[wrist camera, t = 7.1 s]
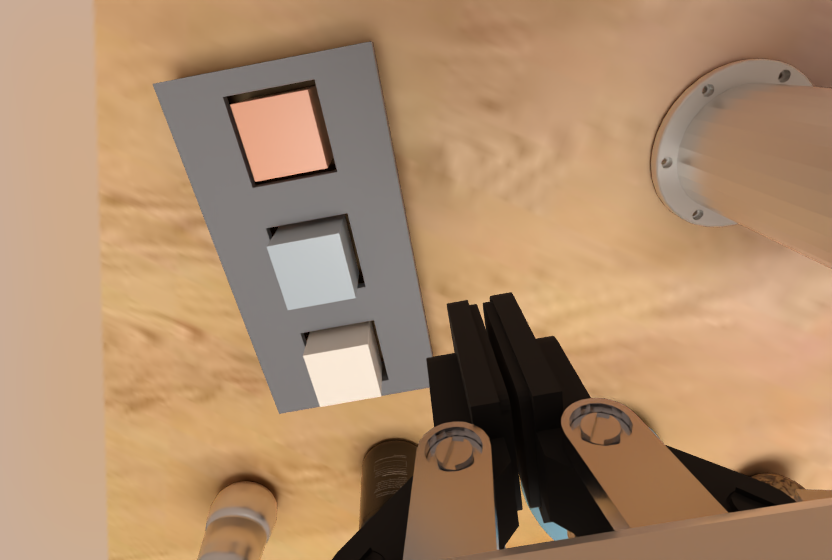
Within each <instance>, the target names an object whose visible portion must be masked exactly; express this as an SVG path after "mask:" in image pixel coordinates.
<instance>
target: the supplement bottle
mask: <svg viewBox="0 0 832 560" xmlns="http://www.w3.org/2000/svg"><path fill="white" fill-rule="evenodd" d="M416 451H417V446H415V445H413V444H411V443H409V442H405V441H399V440H394V441H387V442H383V443H381V444H378V445H377V446H375V447H374V448H372V449H371V450H370V451H369V452H368V453H367V455H366V456H365V458H364V460H363V465H362V478H361V498H360V519H359V530H360V529H361V528H362V527H363V526H364V525H365V524H366V523H367V522H368V521H369V520H370V519H371V518H372V517H373V516H374V515H375V514H376V513H377V512H378V511H379V509H380V508H381V507H382V506H383V505H384V504H385V503H386V502H387V501H388V500H389V499H390V498H391V497H392V496H393V495H394V494H395V493H396V492H397V491H398V490H399V489H400V488H401V487H402V486H403V485H404V484H405V483H406V482H407V481H408V480H409V479H410V478H411V477H412V476H413V475H414V467H415V459H416Z"/></svg>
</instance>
